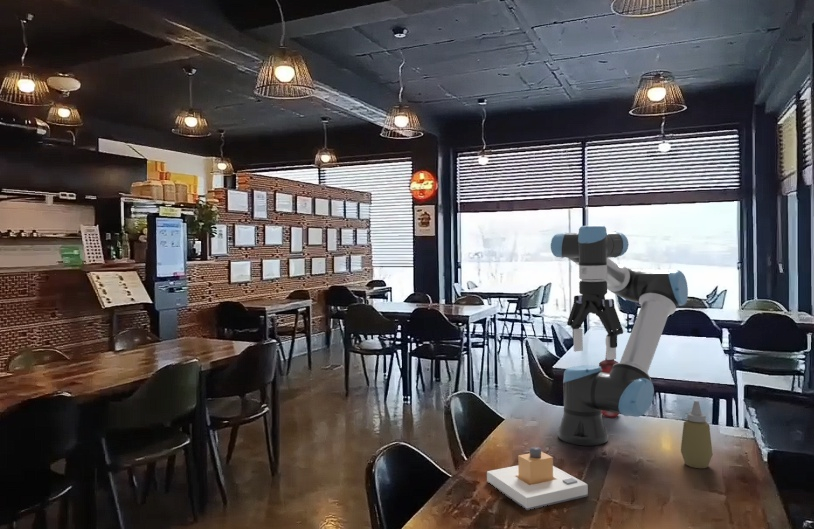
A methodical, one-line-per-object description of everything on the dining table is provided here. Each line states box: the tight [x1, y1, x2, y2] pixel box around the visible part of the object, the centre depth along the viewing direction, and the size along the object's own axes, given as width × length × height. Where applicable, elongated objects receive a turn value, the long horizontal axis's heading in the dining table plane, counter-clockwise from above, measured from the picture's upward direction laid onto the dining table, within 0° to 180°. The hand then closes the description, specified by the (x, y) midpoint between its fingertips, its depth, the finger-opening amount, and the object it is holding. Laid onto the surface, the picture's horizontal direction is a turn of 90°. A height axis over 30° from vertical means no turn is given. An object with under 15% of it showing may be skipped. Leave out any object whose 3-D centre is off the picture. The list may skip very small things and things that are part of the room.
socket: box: [486, 464, 589, 511], centre depth 151 cm, size 18×18×3 cm
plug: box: [517, 446, 554, 485], centre depth 151 cm, size 5×7×10 cm
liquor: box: [598, 356, 620, 419], centre depth 213 cm, size 7×7×28 cm
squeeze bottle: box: [680, 400, 714, 469], centre depth 165 cm, size 8×8×18 cm
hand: (594, 355), depth 167 cm, fingers open, 13 cm apart
